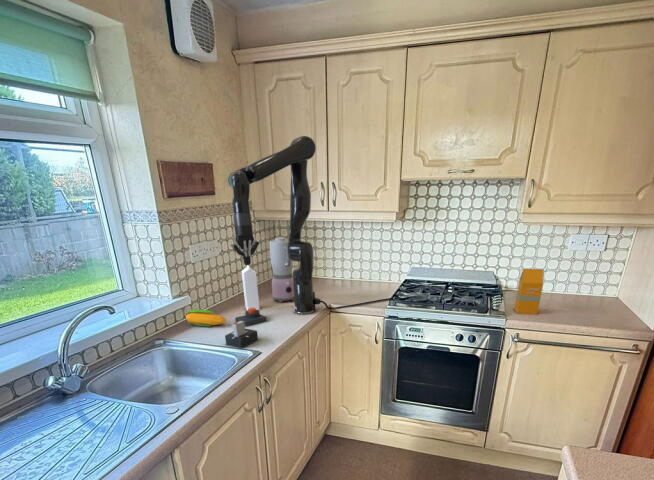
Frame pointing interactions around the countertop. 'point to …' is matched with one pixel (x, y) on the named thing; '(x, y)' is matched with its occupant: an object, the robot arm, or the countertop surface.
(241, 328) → the timer knob
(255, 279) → the milk
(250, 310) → the power button
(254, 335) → the fryer panel
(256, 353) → the countertop surface
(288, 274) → the blender
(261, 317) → the button block
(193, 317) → the corn
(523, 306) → the orange juice
